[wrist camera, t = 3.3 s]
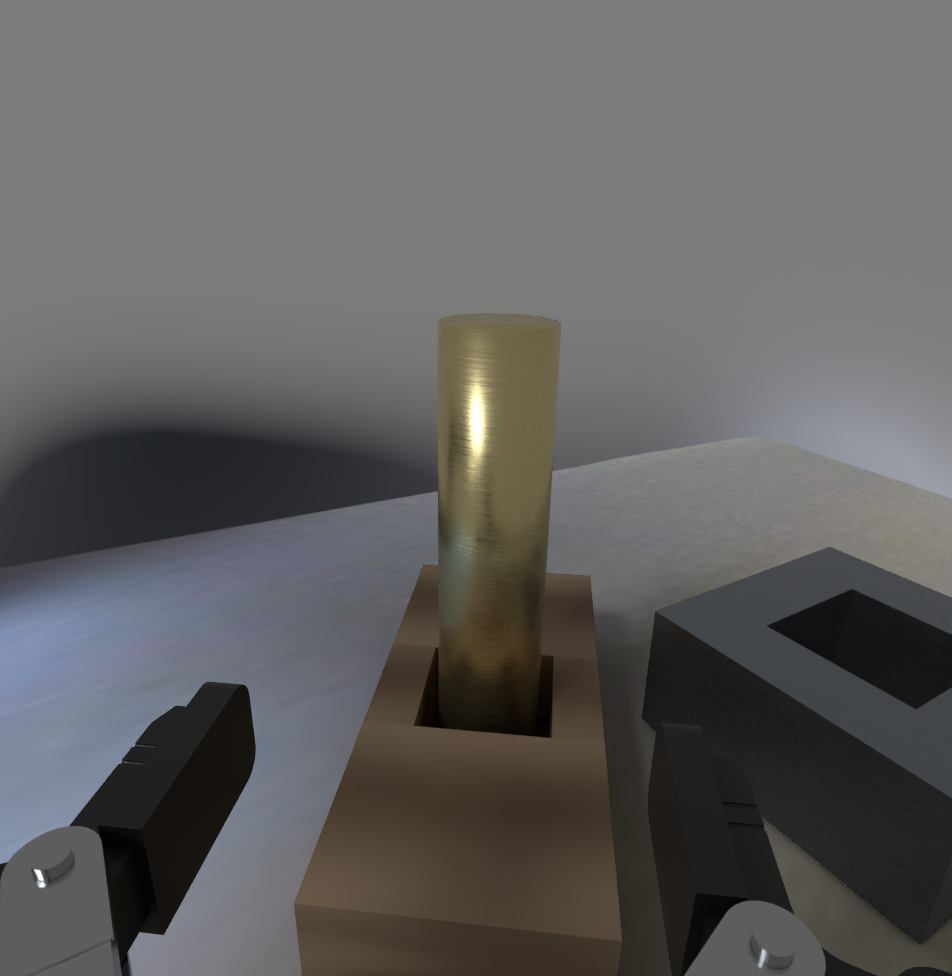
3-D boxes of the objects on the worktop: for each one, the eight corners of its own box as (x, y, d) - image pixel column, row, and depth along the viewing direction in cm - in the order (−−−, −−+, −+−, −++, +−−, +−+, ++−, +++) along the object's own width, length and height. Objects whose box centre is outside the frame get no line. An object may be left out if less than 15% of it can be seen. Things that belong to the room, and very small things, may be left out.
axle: (422, 742, 27) (415, 317, 21) (500, 710, 29) (514, 310, 23) (470, 806, 24) (479, 335, 18) (554, 766, 26) (586, 326, 20)
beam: (611, 1023, 18) (622, 941, 17) (302, 984, 18) (294, 903, 17) (585, 630, 34) (590, 576, 33) (424, 618, 35) (423, 564, 34)
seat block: (641, 717, 28) (655, 611, 27) (808, 640, 34) (829, 546, 32) (920, 944, 20) (969, 809, 18) (1084, 790, 25) (1134, 674, 23)
